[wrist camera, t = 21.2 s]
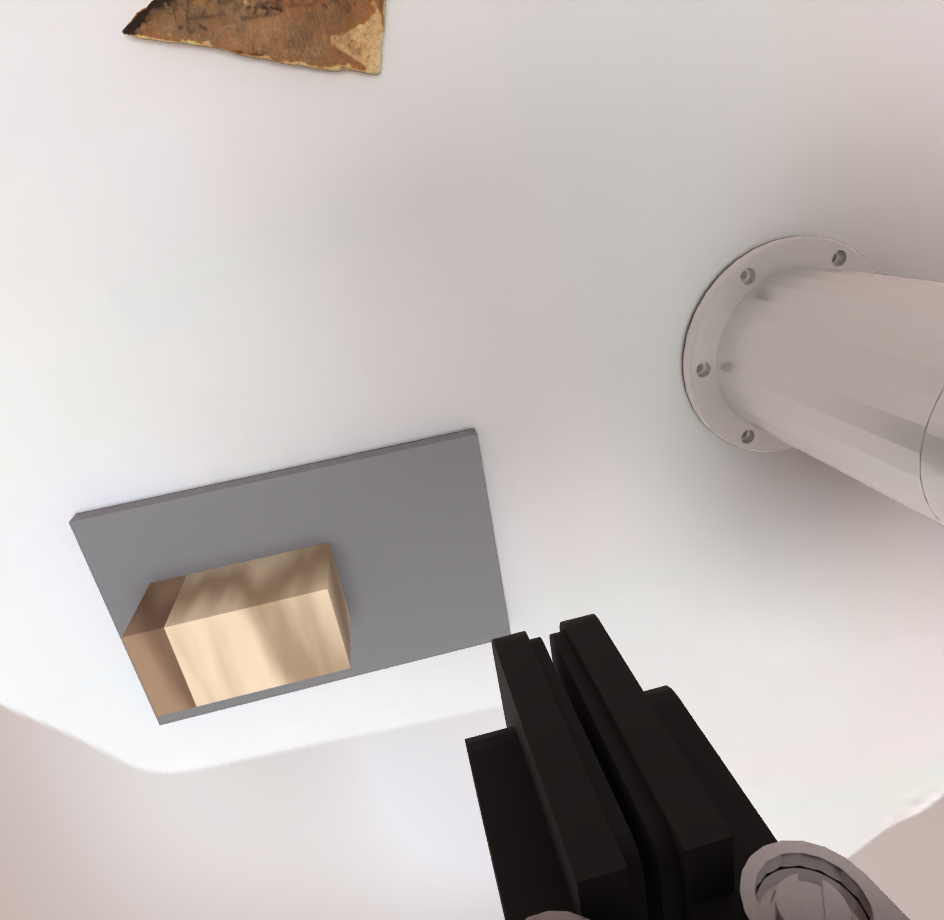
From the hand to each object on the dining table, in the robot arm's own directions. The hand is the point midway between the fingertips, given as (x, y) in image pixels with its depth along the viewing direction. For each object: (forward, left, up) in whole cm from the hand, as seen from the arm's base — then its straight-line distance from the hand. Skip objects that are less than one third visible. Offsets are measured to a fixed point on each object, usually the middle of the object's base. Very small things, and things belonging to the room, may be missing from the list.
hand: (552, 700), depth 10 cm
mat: (+8, +12, -27) cm, 31 cm away
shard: (+2, -16, -28) cm, 32 cm away
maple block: (+6, +12, -24) cm, 27 cm away
